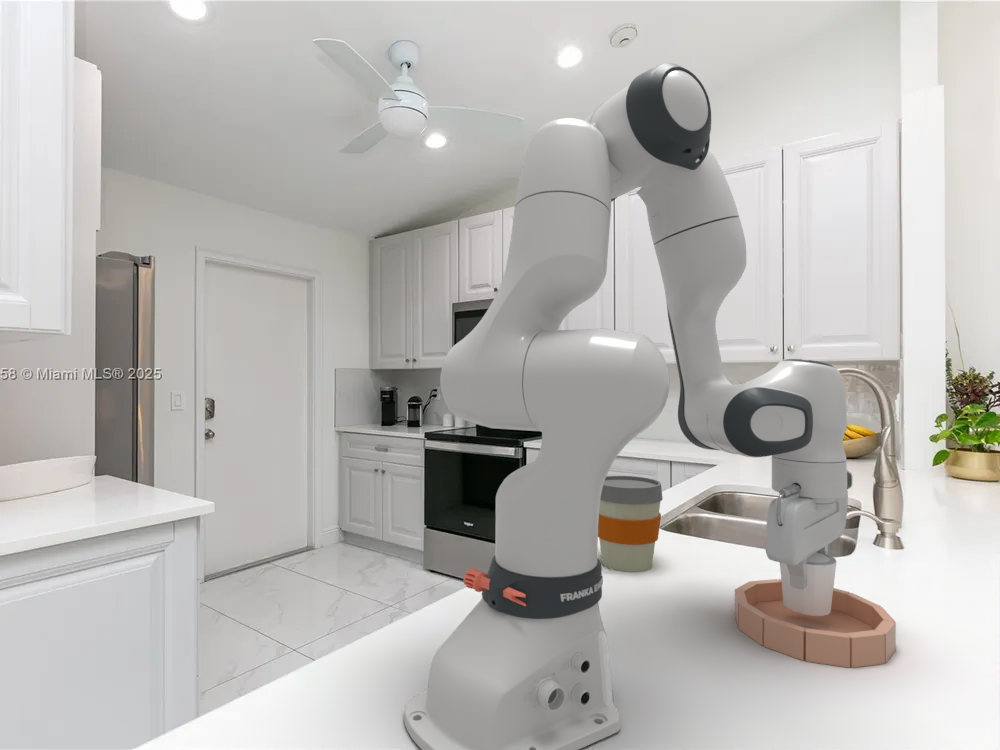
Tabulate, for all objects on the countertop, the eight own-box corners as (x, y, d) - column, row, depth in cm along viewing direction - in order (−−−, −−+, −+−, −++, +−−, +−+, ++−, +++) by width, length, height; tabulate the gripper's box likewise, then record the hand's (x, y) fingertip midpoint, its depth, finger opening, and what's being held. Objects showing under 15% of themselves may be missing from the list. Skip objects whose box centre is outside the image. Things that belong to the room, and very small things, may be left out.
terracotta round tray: (869, 684, 60) (869, 652, 60) (712, 627, 74) (712, 602, 74) (908, 633, 72) (908, 607, 72) (767, 593, 86) (767, 570, 86)
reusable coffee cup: (677, 566, 98) (677, 483, 98) (629, 581, 91) (629, 491, 91) (624, 548, 108) (625, 473, 108) (578, 560, 101) (578, 479, 101)
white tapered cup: (844, 620, 70) (844, 566, 70) (785, 614, 71) (786, 561, 71) (825, 598, 76) (825, 549, 76) (772, 593, 78) (772, 545, 78)
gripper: (806, 494, 64) (805, 611, 64) (856, 473, 78) (856, 569, 78) (751, 486, 69) (751, 595, 69) (808, 467, 83) (808, 558, 83)
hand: (807, 581), depth 74 cm, fingers closed on white tapered cup, 5 cm apart
